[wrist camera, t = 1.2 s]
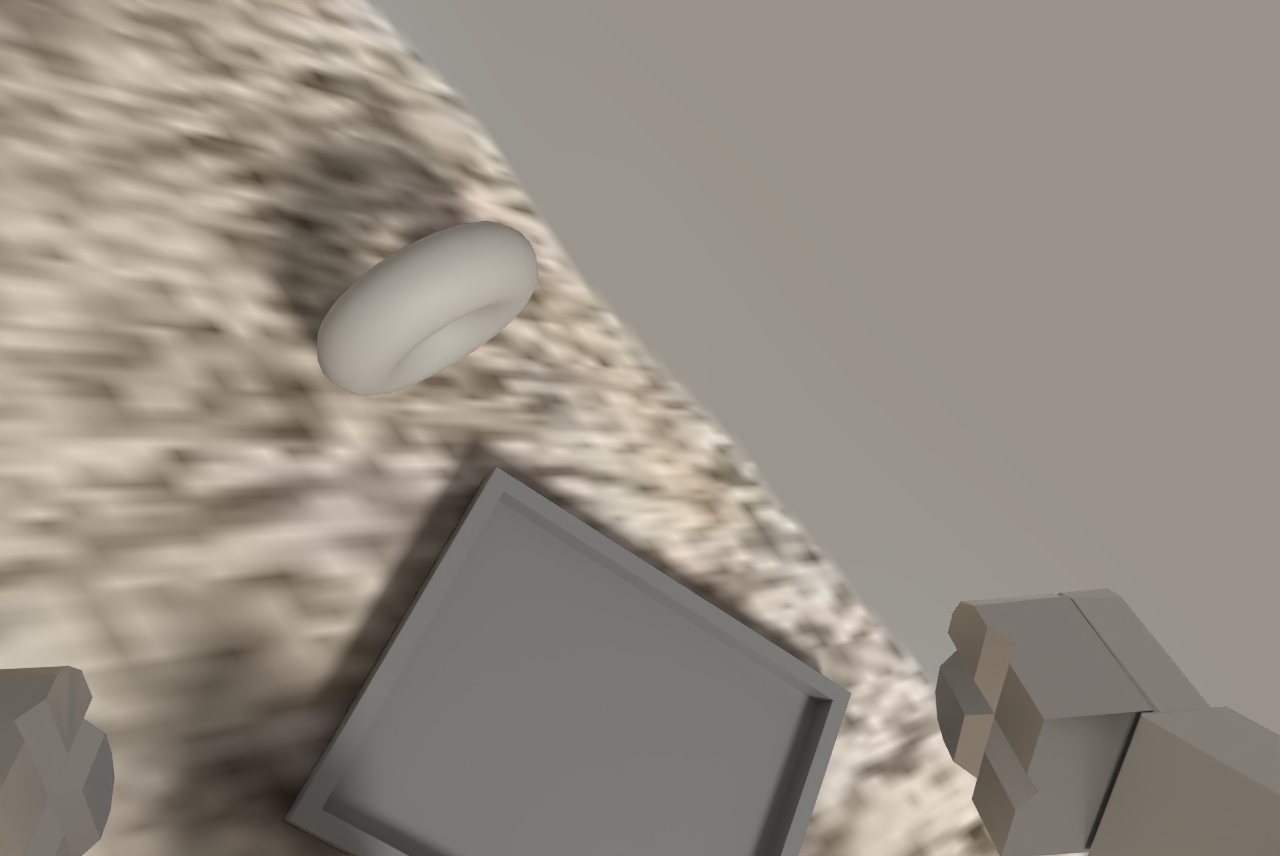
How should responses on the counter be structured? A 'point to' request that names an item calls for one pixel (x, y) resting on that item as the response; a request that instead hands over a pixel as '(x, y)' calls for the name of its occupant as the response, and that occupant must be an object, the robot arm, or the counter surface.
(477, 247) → the donut
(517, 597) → the drying tray
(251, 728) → the counter surface
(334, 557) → the counter surface
